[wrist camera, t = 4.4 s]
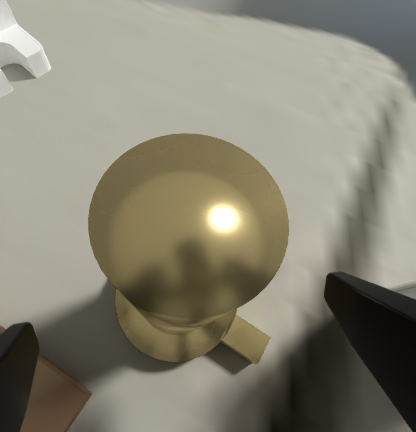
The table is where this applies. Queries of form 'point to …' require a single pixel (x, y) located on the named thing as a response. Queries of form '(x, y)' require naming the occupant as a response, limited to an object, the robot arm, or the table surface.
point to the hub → (188, 244)
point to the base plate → (52, 399)
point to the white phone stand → (18, 49)
